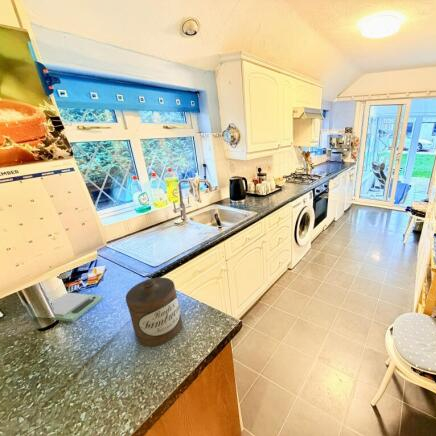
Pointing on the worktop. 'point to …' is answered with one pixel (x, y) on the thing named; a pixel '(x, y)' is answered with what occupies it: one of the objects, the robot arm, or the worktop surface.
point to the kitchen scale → (73, 305)
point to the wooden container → (154, 311)
